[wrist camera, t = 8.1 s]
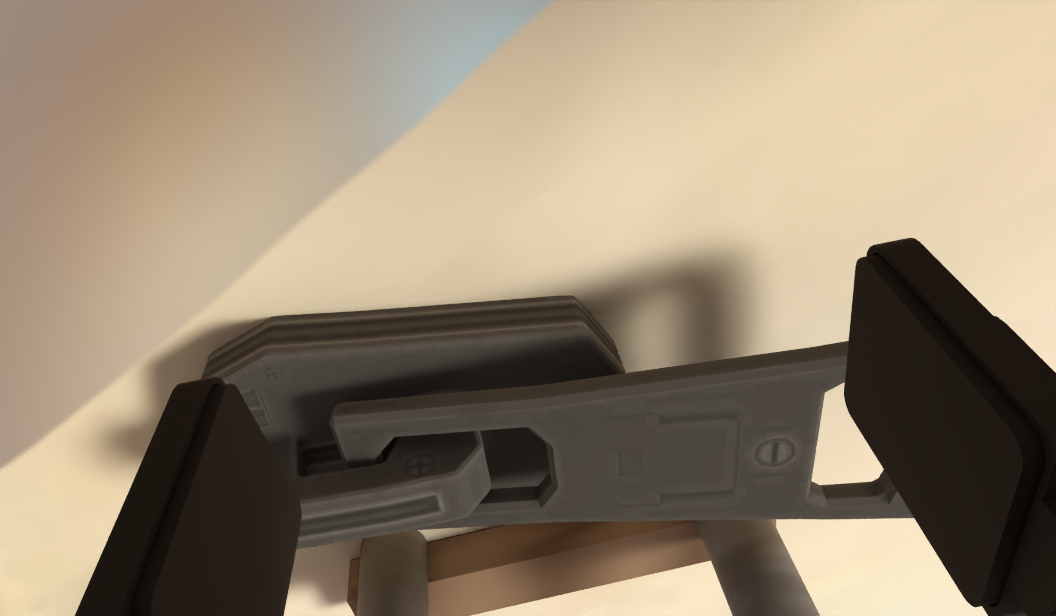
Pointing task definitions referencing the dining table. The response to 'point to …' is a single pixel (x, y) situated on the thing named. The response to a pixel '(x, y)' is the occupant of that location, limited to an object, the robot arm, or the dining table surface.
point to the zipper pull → (530, 423)
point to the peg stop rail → (570, 565)
